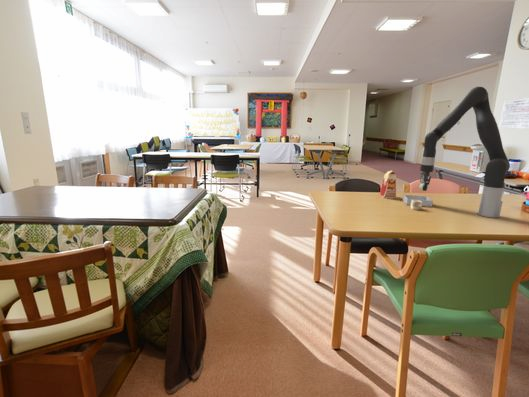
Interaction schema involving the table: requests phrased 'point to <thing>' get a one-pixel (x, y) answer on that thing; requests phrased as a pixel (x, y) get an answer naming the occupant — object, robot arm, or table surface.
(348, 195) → the table surface
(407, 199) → the bin
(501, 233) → the table surface
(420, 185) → the ball
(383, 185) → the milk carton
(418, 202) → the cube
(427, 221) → the table surface
